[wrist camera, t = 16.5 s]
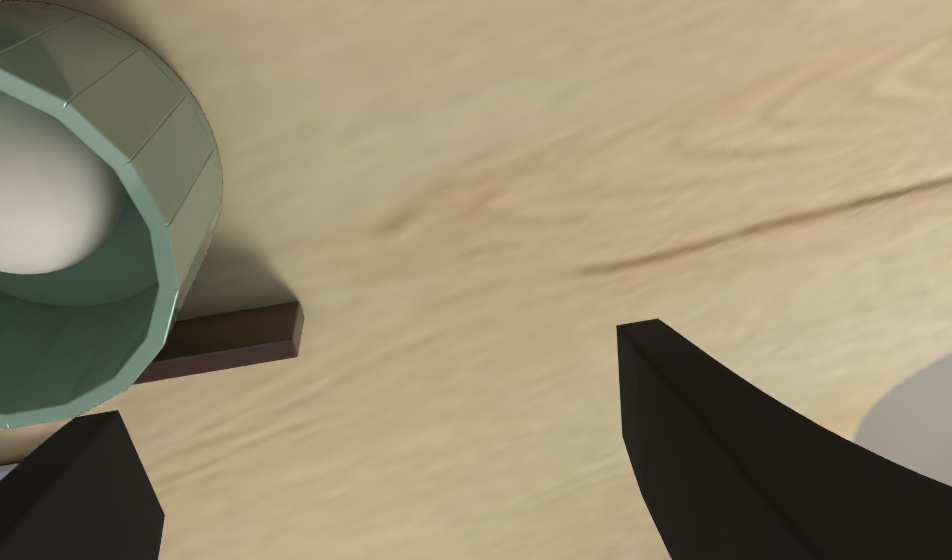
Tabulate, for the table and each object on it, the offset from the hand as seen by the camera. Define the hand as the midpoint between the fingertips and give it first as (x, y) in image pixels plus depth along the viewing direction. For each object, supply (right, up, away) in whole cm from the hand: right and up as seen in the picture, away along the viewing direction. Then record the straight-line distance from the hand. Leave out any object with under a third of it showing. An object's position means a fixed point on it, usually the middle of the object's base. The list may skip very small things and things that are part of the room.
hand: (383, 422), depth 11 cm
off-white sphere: (-8, +4, +6) cm, 11 cm away
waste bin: (-9, +5, +8) cm, 13 cm away
